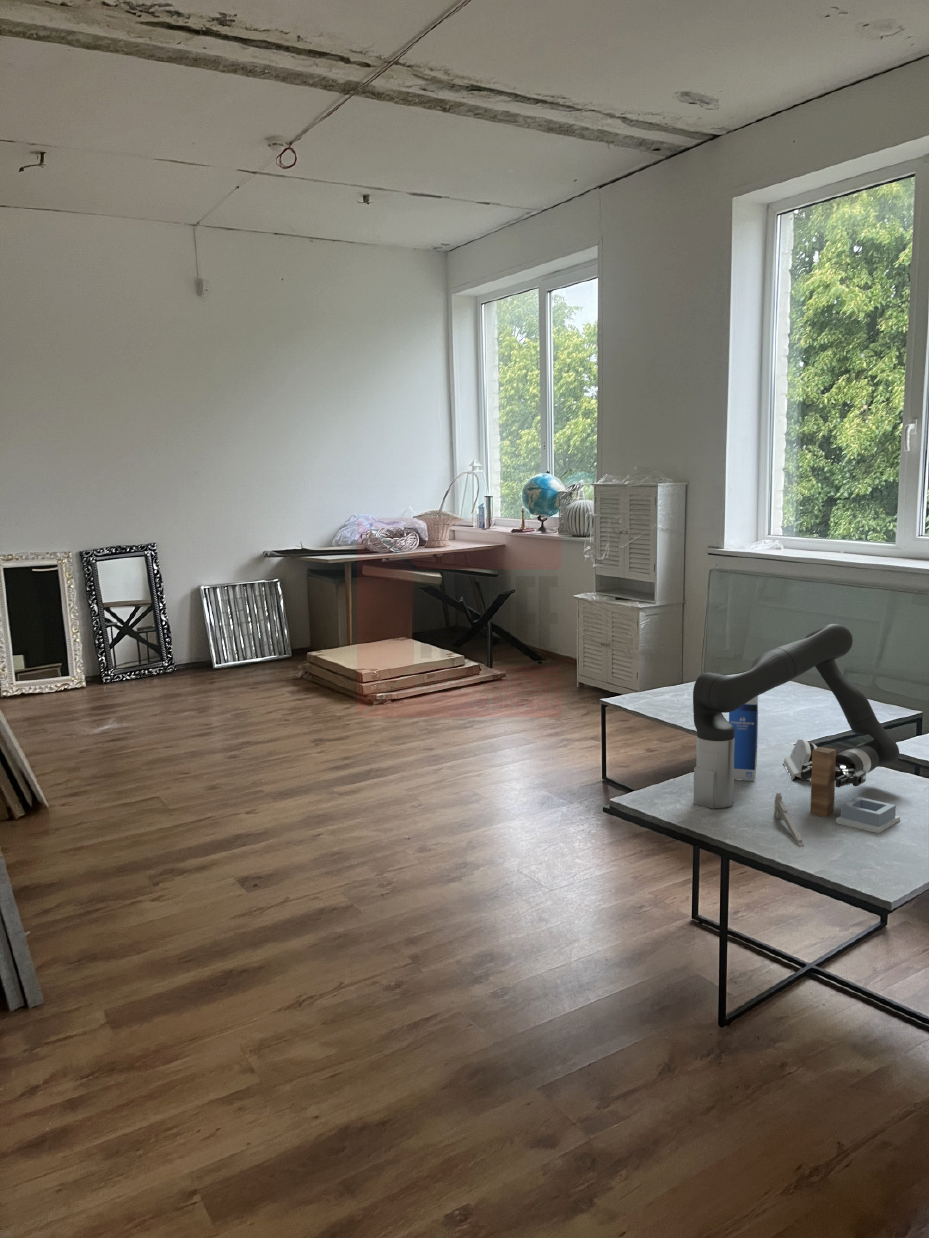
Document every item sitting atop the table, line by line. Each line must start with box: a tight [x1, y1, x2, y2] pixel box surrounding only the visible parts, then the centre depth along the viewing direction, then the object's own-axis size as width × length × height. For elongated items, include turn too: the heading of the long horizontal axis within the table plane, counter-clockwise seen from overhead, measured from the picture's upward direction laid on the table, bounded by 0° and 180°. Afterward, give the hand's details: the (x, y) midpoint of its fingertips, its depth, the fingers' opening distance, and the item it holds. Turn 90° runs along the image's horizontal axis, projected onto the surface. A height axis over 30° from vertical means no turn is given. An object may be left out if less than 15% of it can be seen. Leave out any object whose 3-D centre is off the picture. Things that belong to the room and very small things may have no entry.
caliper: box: [773, 792, 805, 848], centre depth 210 cm, size 20×1×6 cm, turn 176°
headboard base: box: [835, 796, 901, 834], centre depth 215 cm, size 12×10×4 cm
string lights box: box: [728, 695, 759, 781], centre depth 253 cm, size 13×8×26 cm, turn 161°
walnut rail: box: [810, 746, 837, 818], centre depth 220 cm, size 4×4×16 cm
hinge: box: [783, 739, 818, 781], centre depth 254 cm, size 17×5×10 cm, turn 169°
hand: (819, 779), depth 219 cm, fingers open, 8 cm apart
